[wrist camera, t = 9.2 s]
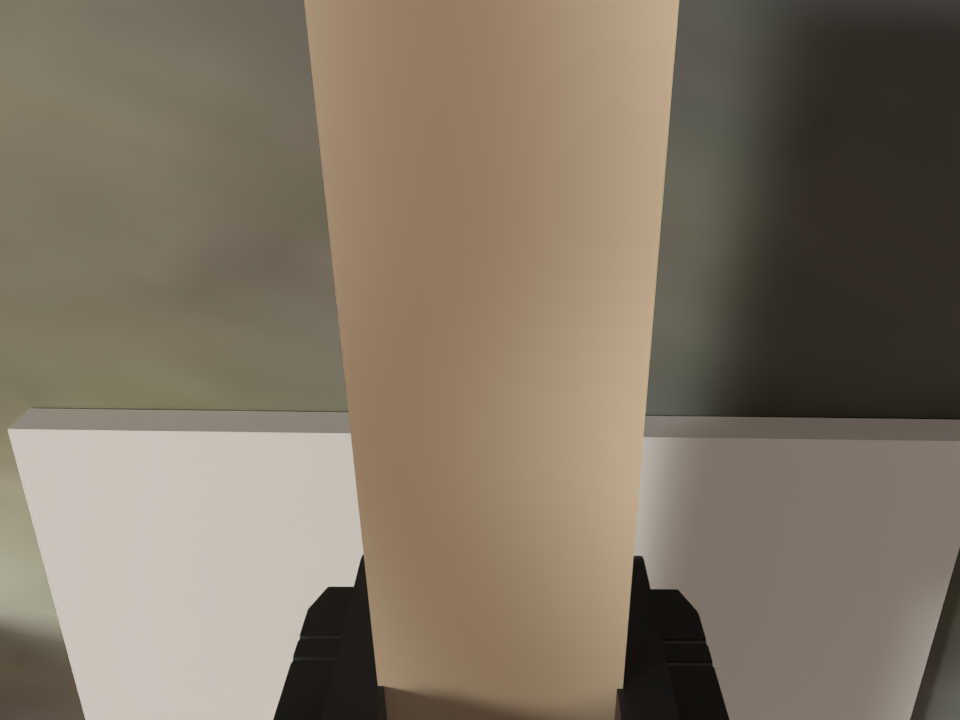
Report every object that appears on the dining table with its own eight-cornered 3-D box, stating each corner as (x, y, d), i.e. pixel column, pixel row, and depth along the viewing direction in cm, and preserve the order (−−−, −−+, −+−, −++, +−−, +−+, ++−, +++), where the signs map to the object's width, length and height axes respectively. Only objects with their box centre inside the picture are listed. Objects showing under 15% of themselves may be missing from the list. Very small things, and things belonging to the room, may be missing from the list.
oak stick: (626, -133, 10) (691, -156, 6) (573, 896, 19) (587, 1120, 16) (367, -125, 10) (288, -146, 6) (439, 893, 19) (423, 1115, 16)
